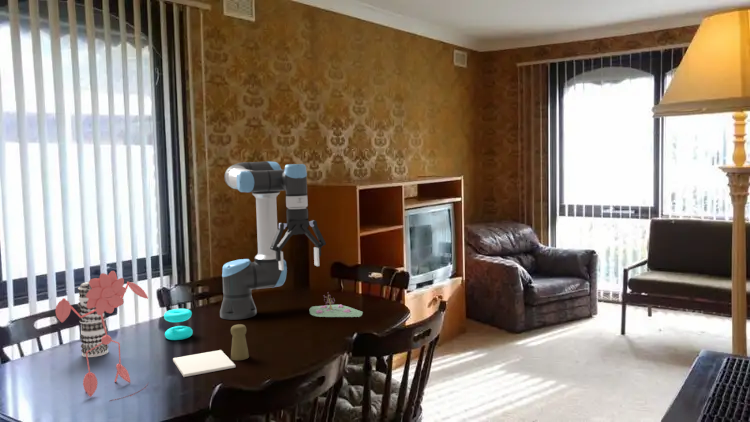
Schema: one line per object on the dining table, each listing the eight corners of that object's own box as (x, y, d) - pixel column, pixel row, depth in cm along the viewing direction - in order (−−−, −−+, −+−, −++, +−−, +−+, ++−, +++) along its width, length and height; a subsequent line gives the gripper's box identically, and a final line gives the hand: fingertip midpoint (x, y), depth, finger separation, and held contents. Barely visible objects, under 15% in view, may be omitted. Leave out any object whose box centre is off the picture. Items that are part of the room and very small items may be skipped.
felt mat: (173, 360, 203) (172, 358, 203) (221, 352, 211) (221, 349, 211) (183, 377, 187) (183, 374, 187) (235, 367, 195) (235, 364, 195)
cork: (232, 355, 207) (230, 323, 206) (250, 354, 208) (248, 322, 207) (229, 360, 201) (227, 328, 200) (247, 359, 202) (246, 327, 201)
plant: (374, 309, 266) (373, 289, 266) (353, 321, 248) (353, 299, 247) (323, 305, 276) (322, 285, 276) (300, 316, 258) (299, 295, 257)
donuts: (158, 311, 229) (182, 306, 236) (160, 337, 230) (184, 331, 237) (172, 315, 222) (196, 310, 229) (173, 342, 223) (198, 336, 230)
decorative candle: (115, 350, 216) (111, 280, 214) (95, 358, 207) (90, 285, 205) (95, 348, 219) (90, 279, 217) (74, 356, 210) (69, 284, 208)
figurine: (54, 400, 171) (47, 277, 168) (138, 373, 192) (133, 262, 188) (83, 414, 162) (76, 284, 159) (167, 384, 183) (163, 268, 179)
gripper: (266, 210, 206) (269, 273, 207) (333, 206, 218) (335, 265, 220) (259, 209, 212) (262, 270, 214) (324, 205, 224) (326, 262, 226)
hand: (299, 267), depth 217 cm, fingers open, 13 cm apart
